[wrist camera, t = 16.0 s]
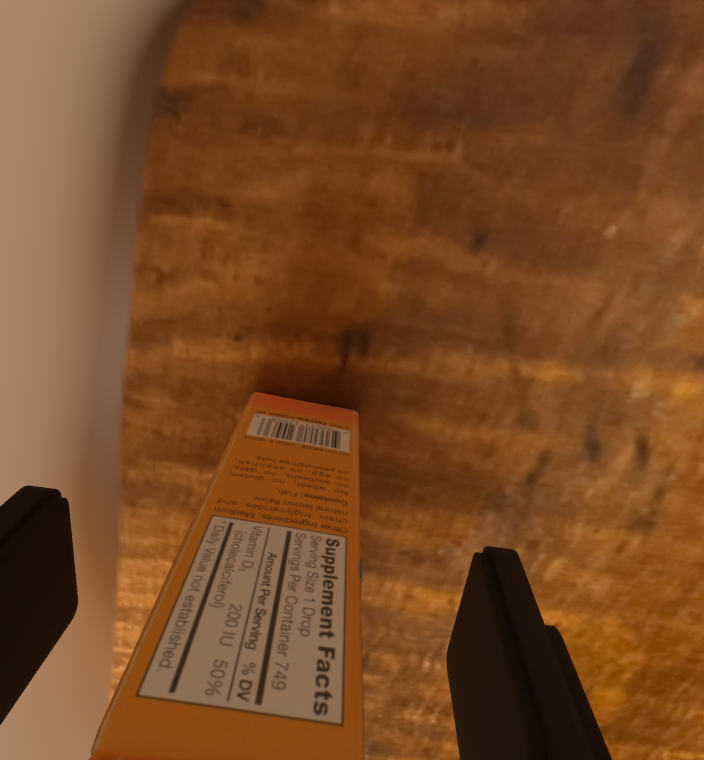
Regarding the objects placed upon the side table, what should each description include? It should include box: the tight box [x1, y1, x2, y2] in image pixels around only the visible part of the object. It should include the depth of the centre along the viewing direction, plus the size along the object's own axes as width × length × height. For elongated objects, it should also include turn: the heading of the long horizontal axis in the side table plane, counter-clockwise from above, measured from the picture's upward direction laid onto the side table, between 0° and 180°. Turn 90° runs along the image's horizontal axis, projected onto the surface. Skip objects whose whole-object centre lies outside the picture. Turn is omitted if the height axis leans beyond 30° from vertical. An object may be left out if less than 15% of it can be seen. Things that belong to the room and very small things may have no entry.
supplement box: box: [88, 392, 365, 760], centre depth 10 cm, size 3×3×10 cm
